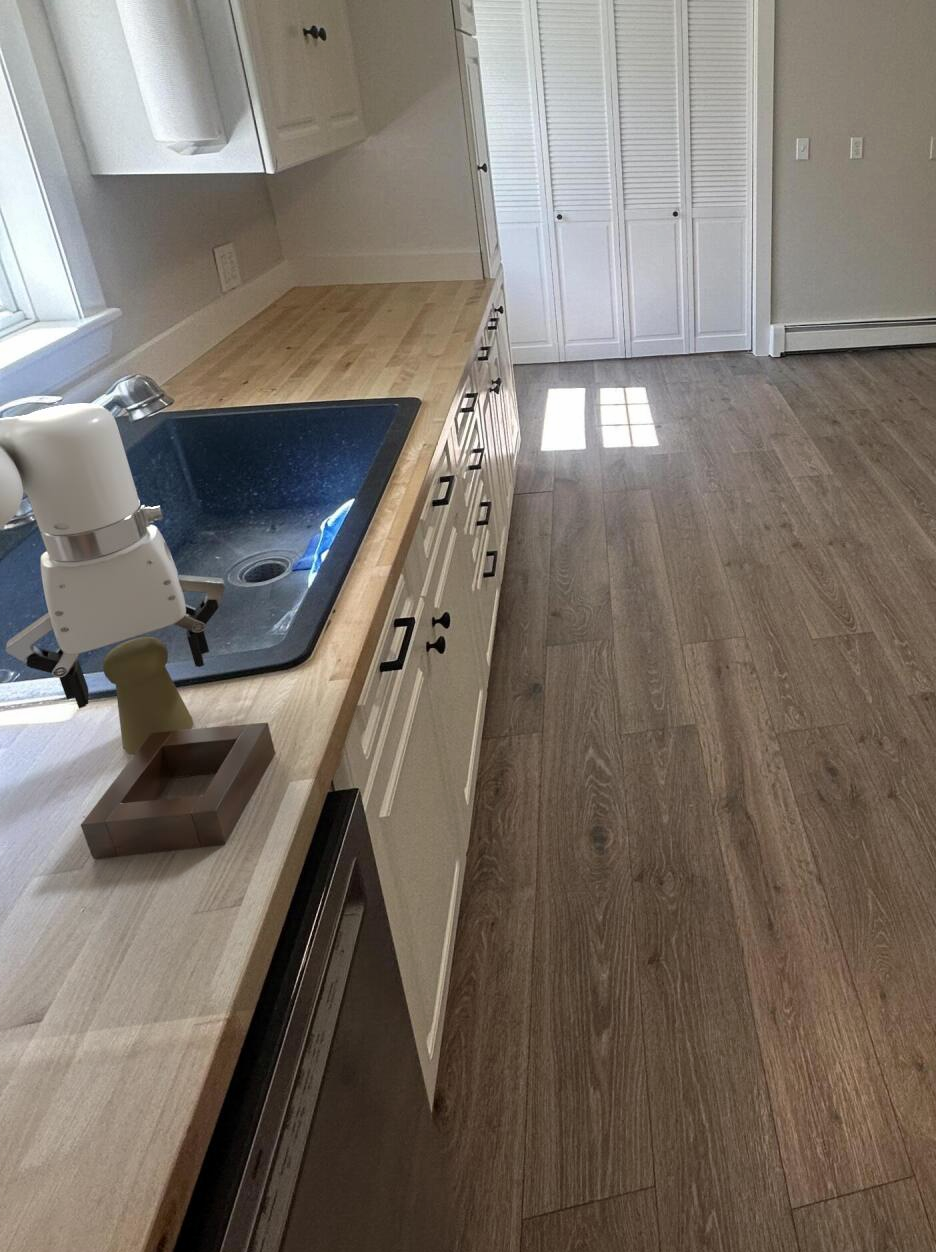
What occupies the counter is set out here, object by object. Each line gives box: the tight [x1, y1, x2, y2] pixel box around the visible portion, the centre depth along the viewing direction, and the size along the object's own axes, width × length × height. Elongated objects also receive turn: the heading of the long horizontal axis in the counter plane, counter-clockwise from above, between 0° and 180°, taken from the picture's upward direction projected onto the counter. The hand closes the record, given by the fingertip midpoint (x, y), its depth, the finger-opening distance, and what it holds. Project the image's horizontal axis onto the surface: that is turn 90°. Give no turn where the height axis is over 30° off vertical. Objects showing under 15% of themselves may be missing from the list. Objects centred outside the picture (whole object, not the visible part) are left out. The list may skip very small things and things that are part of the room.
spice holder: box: [80, 722, 276, 860], centre depth 74 cm, size 11×11×4 cm
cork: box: [102, 636, 193, 756], centre depth 81 cm, size 6×6×11 cm
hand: (143, 678), depth 81 cm, fingers open, 9 cm apart
